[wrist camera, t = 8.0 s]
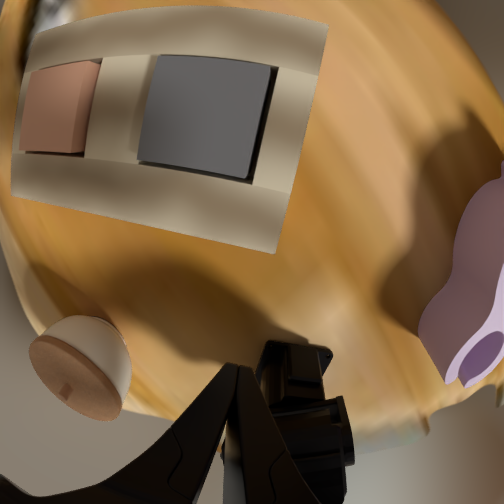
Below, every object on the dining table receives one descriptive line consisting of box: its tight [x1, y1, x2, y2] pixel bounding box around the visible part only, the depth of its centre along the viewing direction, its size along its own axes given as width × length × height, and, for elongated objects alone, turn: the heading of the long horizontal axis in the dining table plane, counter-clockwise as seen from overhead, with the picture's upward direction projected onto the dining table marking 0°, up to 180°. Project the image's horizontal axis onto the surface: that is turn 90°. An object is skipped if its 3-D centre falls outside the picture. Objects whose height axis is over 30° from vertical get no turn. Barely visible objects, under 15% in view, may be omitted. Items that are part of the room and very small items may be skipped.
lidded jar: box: [29, 315, 132, 421], centre depth 22 cm, size 11×11×9 cm
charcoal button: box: [137, 56, 271, 178], centre depth 14 cm, size 6×6×4 cm
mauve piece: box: [418, 160, 504, 388], centre depth 16 cm, size 20×12×7 cm, turn 156°
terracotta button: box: [19, 61, 101, 153], centre depth 14 cm, size 6×6×4 cm
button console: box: [11, 6, 329, 254], centre depth 15 cm, size 14×22×4 cm, turn 78°
